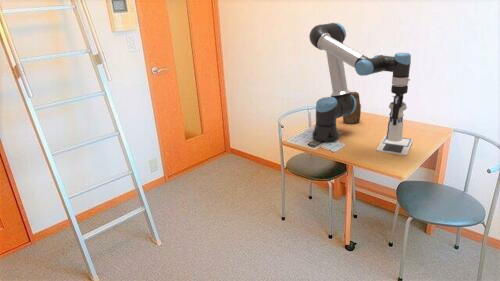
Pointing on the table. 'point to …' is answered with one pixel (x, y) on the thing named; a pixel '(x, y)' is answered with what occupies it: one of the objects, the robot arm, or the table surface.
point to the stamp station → (395, 146)
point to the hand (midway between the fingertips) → (395, 128)
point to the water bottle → (397, 134)
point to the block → (355, 115)
